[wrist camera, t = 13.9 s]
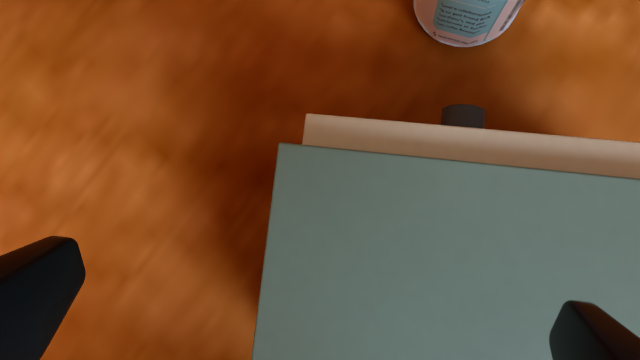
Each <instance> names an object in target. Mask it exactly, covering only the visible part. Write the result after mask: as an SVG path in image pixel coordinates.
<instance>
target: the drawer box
mask: <svg viewBox="0 0 640 360" xmlns="http://www.w3.org/2000/svg"><path fill="white" fill-rule="evenodd" d="M568 300H577V301H585V302H591V303H594V304H596V305H597V306H599V307H600V308H601V309H603V310H604V311H605V312H606V313H608V314H609V315H610V316H612V317H613V318H614V319H616V320H617V321H618V322H620V323H621V324H622V325H624V326H625V327H626V328H628V329H629V330H630V331H632V332H633V333H634V334H635V335H637V336H638V337H639V338H640V179H639V178H629V177H619V176H609V175H599V174H589V173H579V172H569V171H559V170H550V169H540V168H530V167H520V166H510V165H500V164H490V163H480V162H471V161H461V160H451V159H441V158H431V157H421V156H411V155H401V154H392V153H382V152H372V151H362V150H352V149H342V148H332V147H322V146H313V145H303V144H293V143H283V142H281V143H279V144H278V151H277V159H276V167H275V175H274V183H273V191H272V199H271V207H270V215H269V222H268V230H267V238H266V246H265V254H264V262H263V270H262V278H261V286H260V294H259V302H258V309H257V317H256V325H255V333H254V341H253V349H252V357H251V360H553V359H552V355H551V350H550V346H549V335H550V331H551V329H552V326H553V324H554V322H555V320H556V318H557V316H558V314H559V312H560V309H561V307H562V305H563V304H564V303H565V302H566V301H568Z"/></svg>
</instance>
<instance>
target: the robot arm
mask: <svg viewBox="0 0 640 360" xmlns="http://www.w3.org/2000/svg"><path fill="white" fill-rule="evenodd" d="M84 280H85V267H84V264H83V260H82V257H81V253H80V250H79V247H78V244H77V242H76V241H75V240H74V239H72V238H69V237H61V236H50V237H47V238H44V239H42V240H39V241H37V242H34V243H32V244H29V245H27V246H24V247H22V248H19V249H17V250H14V251H12V252H9V253H7V254H4V255H2V256H0V360H40V358H41V357H42V355H43V353H44V352H45V350H46V348H47V347H48V345H49V343H50V342H51V340H52V338H53V336H54V335H55V333H56V331H57V329H58V327H59V326H60V324H61V322H62V320H63V319H64V317H65V315H66V313H67V311H68V310H69V308H70V306H71V304H72V303H73V301H74V299H75V297H76V296H77V294H78V292H79V290H80V288H81V287H82V285H83V283H84ZM549 346H550V350H551V355H552V359H553V360H640V338H639V337H638V336H637V335H635V334H634V333H633V332H632V331H630V330H629V329H628V328H626V327H625V326H624V325H622V324H621V323H620V322H618V321H617V320H616V319H614V318H613V317H612V316H610V315H609V314H608V313H606V312H605V311H604V310H603V309H601V308H600V307H599V306H597V305H596V304H594V303H591V302H585V301H577V300H568V301H566V302H565V303H564V304H563V305H562V307H561V309H560V312H559V314H558V316H557V318H556V320H555V322H554V324H553V326H552V329H551V331H550V335H549Z"/></svg>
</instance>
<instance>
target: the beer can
mask: <svg viewBox="0 0 640 360" xmlns="http://www.w3.org/2000/svg"><path fill="white" fill-rule="evenodd" d="M524 1H525V0H414V10H415V14H416V16H417V19H418V21H419V23H420V25H421V26H422V27H423V29H424V30H425V31H426V32H427V33H428V34H429V35H430V36H431V37H433V38H434V39H436V40H438V41H439V42H441V43H444V44H447V45H451V46H455V47H472V46H477V45H481V44H484V43H486V42H488V41H491V40H493V39H495V38H496V37H498V36H499V35H501V34H502V33H503V32H504V31H505V30H506V29H507V28H508V27H509V26H510V24H511V23H512V21H513V20H514V18H515V17H516V15H517V13H518V11H519V9H520V7H521V6H522V4H523V3H524Z"/></svg>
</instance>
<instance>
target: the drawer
mask: <svg viewBox="0 0 640 360" xmlns="http://www.w3.org/2000/svg"><path fill="white" fill-rule="evenodd" d="M485 117H486V110H485V109H484V108H482V107H479V106H474V105H465V104H457V105H449V106H446V107H444V108H443V109H442V117H441V125H435V124H424V123H412V122H401V121H389V120H378V119H367V118H355V117H344V116H332V115H321V114H309V113H308V114H306V117H305V125H304V133H303V141H302V144H303V145H313V146H322V147H332V148H342V149H352V150H362V151H372V152H382V153H392V154H401V155H411V156H421V157H431V158H441V159H451V160H461V161H471V162H480V163H490V164H500V165H510V166H520V167H530V168H540V169H550V170H559V171H569V172H579V173H589V174H599V175H609V176H619V177H629V178H639V179H640V142H630V141H619V140H607V139H596V138H584V137H573V136H561V135H550V134H538V133H527V132H515V131H504V130H493V129H484V126H485Z"/></svg>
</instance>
